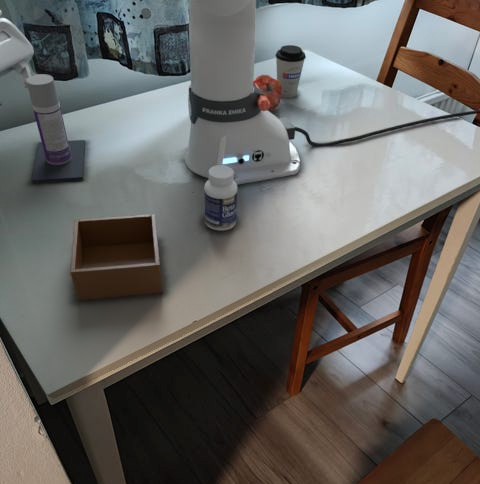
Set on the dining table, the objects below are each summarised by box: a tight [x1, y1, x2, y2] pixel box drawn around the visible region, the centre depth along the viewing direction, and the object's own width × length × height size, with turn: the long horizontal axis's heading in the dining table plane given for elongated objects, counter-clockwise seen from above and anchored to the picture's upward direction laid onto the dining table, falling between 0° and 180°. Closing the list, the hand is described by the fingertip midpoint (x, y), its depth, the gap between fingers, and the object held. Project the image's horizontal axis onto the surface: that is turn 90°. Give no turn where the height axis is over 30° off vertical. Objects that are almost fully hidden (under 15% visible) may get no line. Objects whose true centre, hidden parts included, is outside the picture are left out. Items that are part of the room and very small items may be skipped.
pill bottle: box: [203, 165, 238, 232], centre depth 86 cm, size 5×5×10 cm
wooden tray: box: [69, 213, 164, 301], centre depth 78 cm, size 12×12×5 cm
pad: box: [31, 139, 86, 184], centre depth 101 cm, size 9×14×1 cm, turn 10°
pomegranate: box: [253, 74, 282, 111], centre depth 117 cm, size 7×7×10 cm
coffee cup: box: [275, 44, 307, 98], centre depth 122 cm, size 7×7×10 cm
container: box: [26, 73, 71, 165], centre depth 95 cm, size 5×5×15 cm
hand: (16, 98), depth 95 cm, fingers open, 8 cm apart
